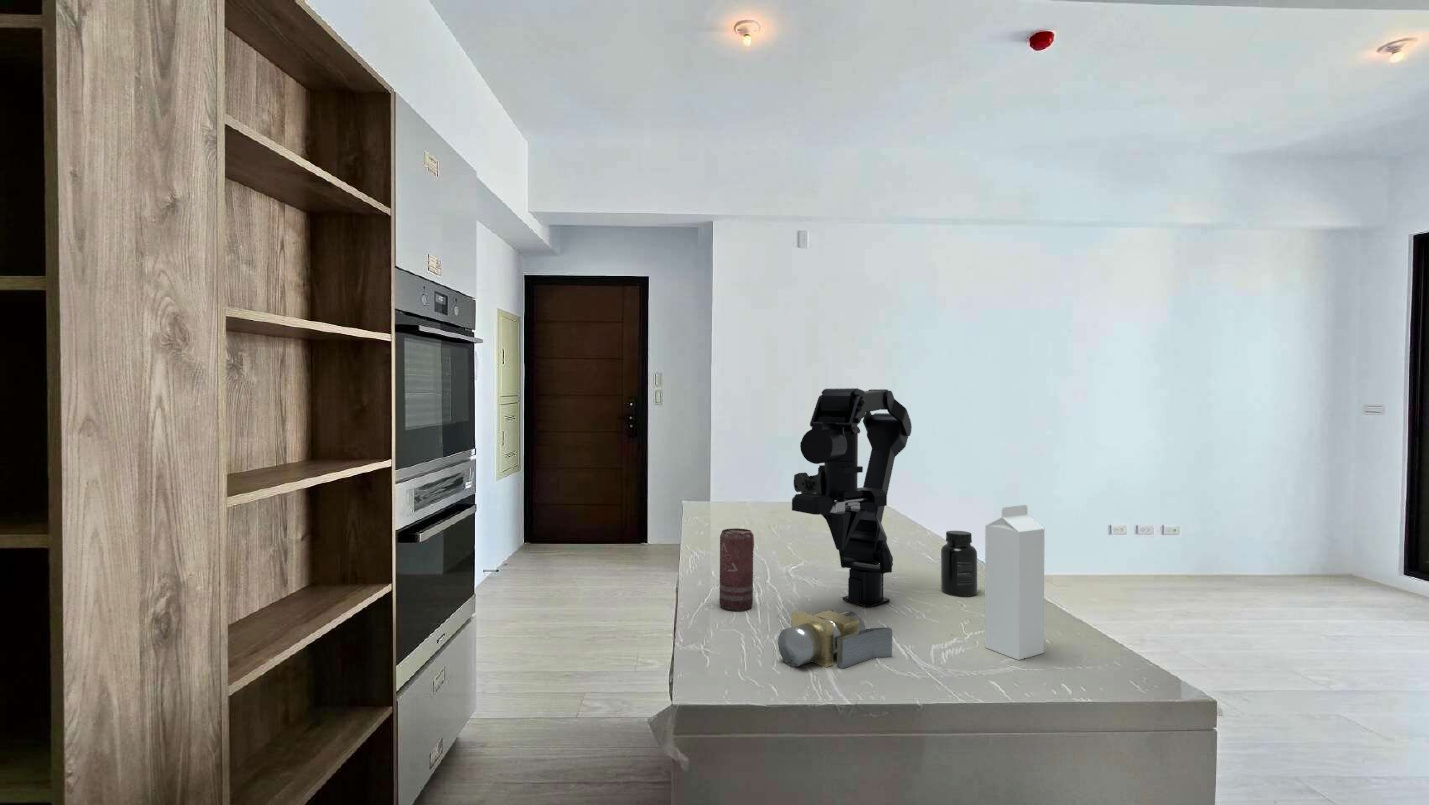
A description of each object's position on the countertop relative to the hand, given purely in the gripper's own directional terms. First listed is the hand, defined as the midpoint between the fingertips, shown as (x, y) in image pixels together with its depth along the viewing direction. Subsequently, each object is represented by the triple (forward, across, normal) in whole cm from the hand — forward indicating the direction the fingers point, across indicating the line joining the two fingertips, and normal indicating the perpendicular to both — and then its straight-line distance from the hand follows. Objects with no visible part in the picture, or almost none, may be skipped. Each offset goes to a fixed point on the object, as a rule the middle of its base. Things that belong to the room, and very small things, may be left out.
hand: (840, 549), depth 115 cm
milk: (+12, -10, +26) cm, 30 cm away
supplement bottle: (+12, -32, +3) cm, 34 cm away
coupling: (+12, +14, +10) cm, 21 cm away
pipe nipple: (+12, +12, +10) cm, 20 cm away
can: (+12, +10, -16) cm, 22 cm away
